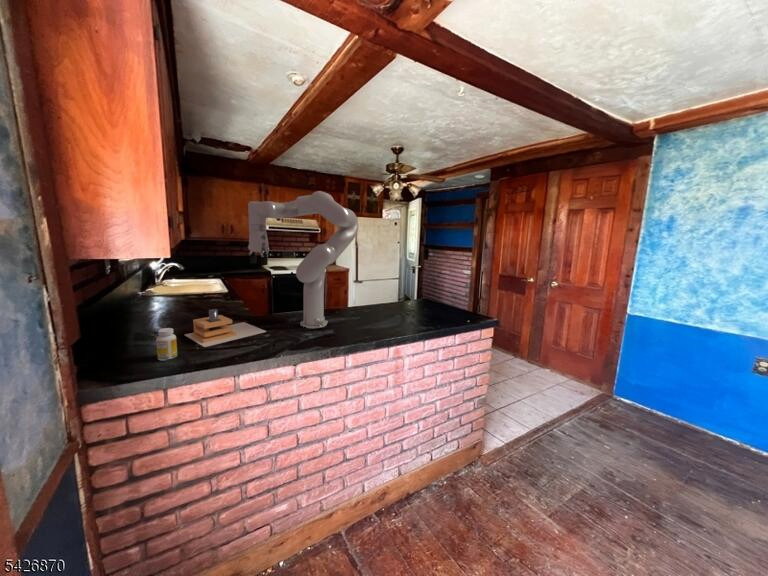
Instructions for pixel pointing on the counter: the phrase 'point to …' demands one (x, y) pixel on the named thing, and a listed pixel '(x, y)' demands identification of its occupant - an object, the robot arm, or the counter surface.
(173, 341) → the supplement bottle
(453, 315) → the counter surface
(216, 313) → the pin
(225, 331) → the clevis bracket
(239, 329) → the mat
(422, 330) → the counter surface
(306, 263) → the robot arm
